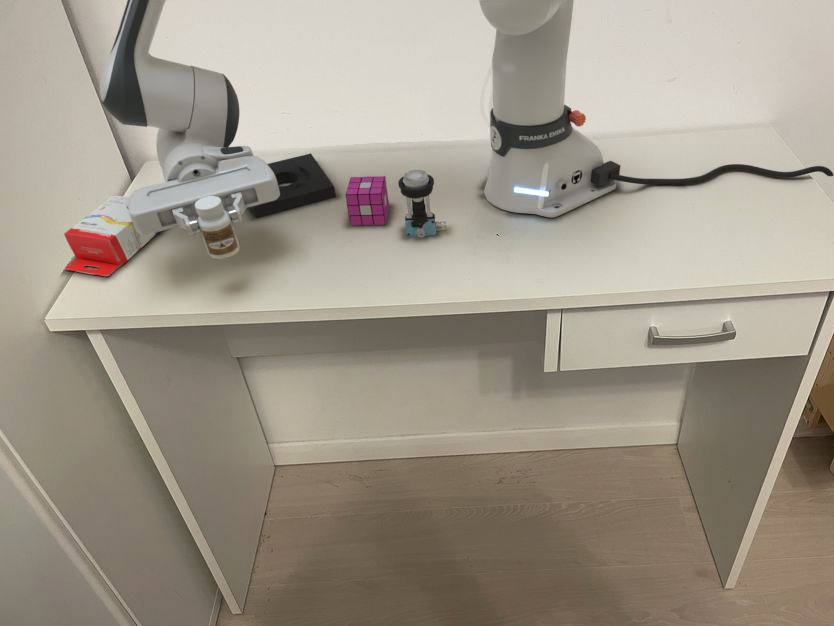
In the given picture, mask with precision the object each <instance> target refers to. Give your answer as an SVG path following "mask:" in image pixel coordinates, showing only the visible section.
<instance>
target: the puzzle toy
mask: <svg viewBox="0 0 834 626" xmlns="http://www.w3.org/2000/svg"><path fill="white" fill-rule="evenodd" d="M344 196H345V202H346V207H347V213H348V218H349V219H348V220H349V224H350V226H352V227H353V226H354V227H355V226H386V224H387V219H388V215H389V210H390V201H389V194H388V186H387V180H386V176H385V175H380V176H379V175H378V176H375V175H374V176H351V177H350V178H349V181H348V184H347V188H346V191H345V195H344Z"/></svg>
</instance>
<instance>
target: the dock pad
mask: <svg viewBox="0 0 834 626" xmlns="http://www.w3.org/2000/svg"><path fill="white" fill-rule="evenodd" d="M266 164H267V165H268V166H269V167H270V168H271V170H272V171H273V173H274V174H275V177H276V179H277V183H278V186H279V191H280V196H279V197H278V198H277V199H276V200H274V201H271V202H267V203H263V204H259V205H256V206H252V207H249V208H250V210H251V212H252V213H253V216H254V218H255V219H258V218H261V217H265V216H269V215H272V214H276V213H280V212H284V211H287V210H291V209H295V208H298V207H302V206H306V205H309V204H314V203H317V202H321V201H325V200H328V199H332V198H336V197H337V193H336V189H335V185H334V184H333V183H332V181H331V180H330V178H329V177H328V175H327V174H326V173H325V172H324V169H323V168H322V167H321V165H320V164H319V163H318V161H317V160H316V158H315V157H314V156H313V155H312V153H306V154H302V155H298V156H295V157H290V158H286V159H281V160H278V161H273V162H270V163H266ZM284 183H290V184H286V185H280V184H284Z"/></svg>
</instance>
